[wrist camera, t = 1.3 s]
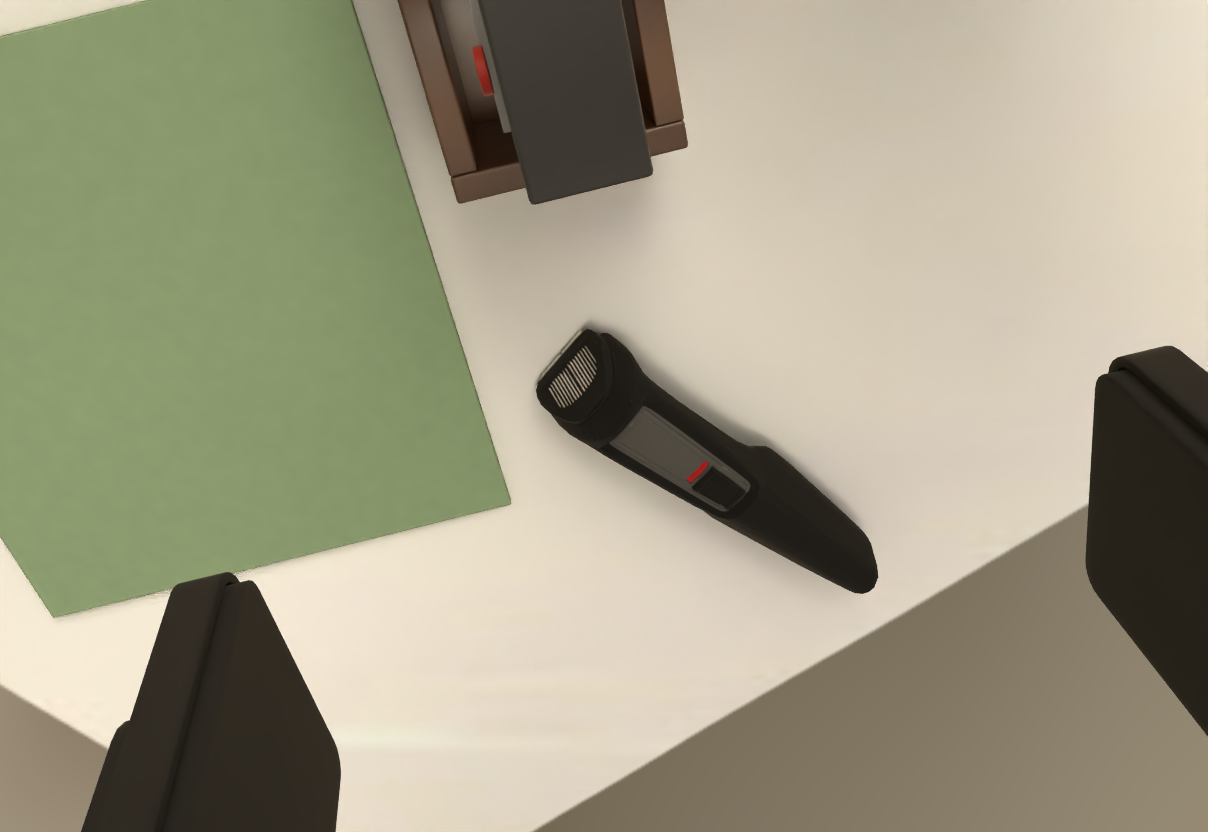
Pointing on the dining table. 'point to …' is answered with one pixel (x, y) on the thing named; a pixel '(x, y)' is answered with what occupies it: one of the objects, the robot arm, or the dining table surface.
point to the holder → (472, 119)
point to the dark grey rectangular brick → (563, 92)
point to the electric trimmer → (700, 460)
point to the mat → (215, 303)
